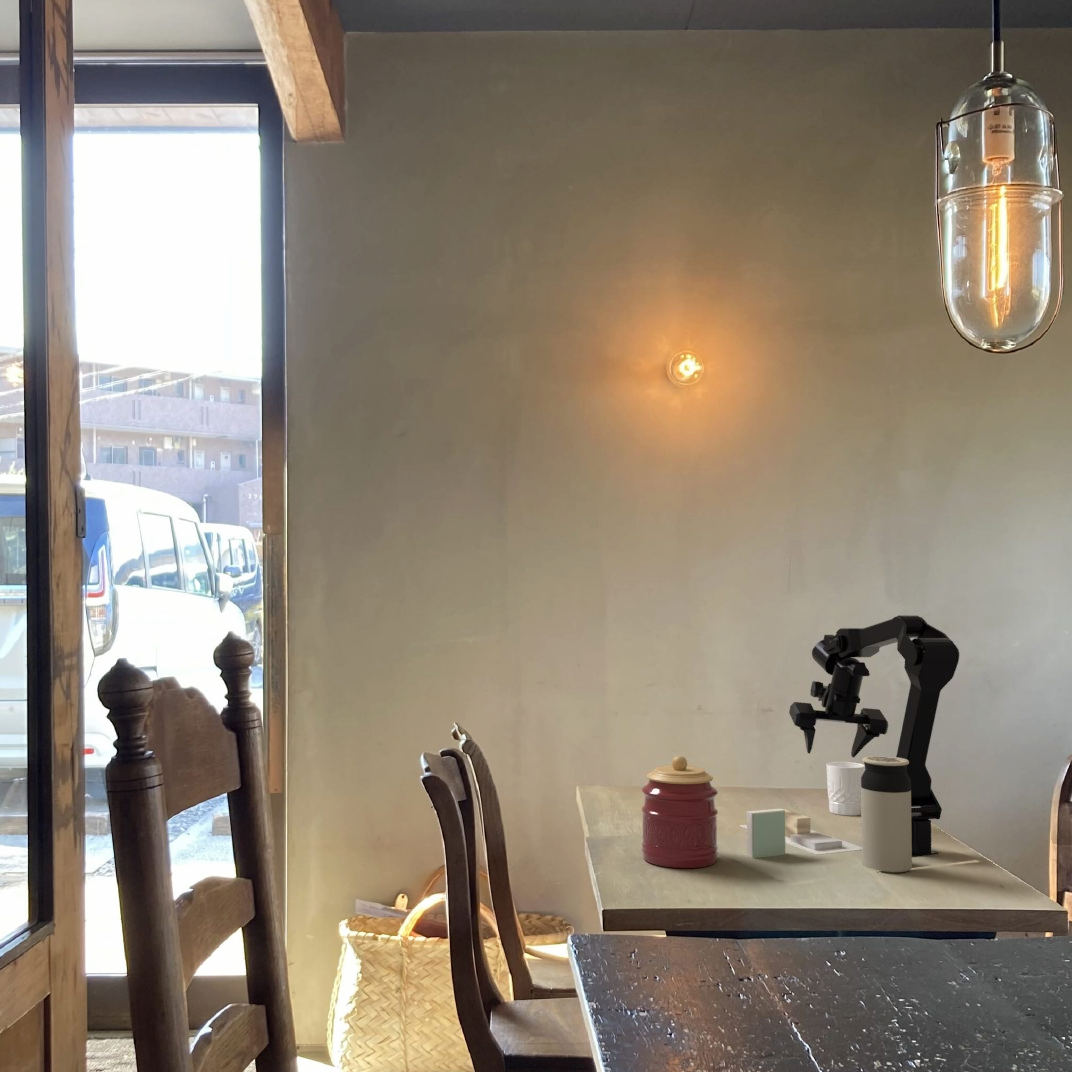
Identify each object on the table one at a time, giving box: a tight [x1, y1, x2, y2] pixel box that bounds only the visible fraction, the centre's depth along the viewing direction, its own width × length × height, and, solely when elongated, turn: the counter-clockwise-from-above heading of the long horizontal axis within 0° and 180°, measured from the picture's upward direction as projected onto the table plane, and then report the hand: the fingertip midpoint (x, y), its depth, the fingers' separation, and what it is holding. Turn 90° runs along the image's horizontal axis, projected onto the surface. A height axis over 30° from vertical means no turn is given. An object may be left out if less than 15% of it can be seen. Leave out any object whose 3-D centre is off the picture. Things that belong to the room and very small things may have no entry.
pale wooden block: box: [782, 808, 843, 850], centre depth 191 cm, size 15×6×4 cm, turn 23°
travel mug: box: [860, 755, 913, 874], centre depth 173 cm, size 8×8×18 cm
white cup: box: [825, 761, 865, 817], centre depth 217 cm, size 8×8×10 cm
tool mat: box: [738, 824, 862, 856], centre depth 193 cm, size 24×11×1 cm, turn 23°
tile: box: [746, 808, 786, 859], centre depth 179 cm, size 2×7×8 cm, turn 113°
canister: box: [641, 755, 719, 869], centre depth 177 cm, size 13×13×18 cm
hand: (830, 754), depth 211 cm, fingers open, 9 cm apart
